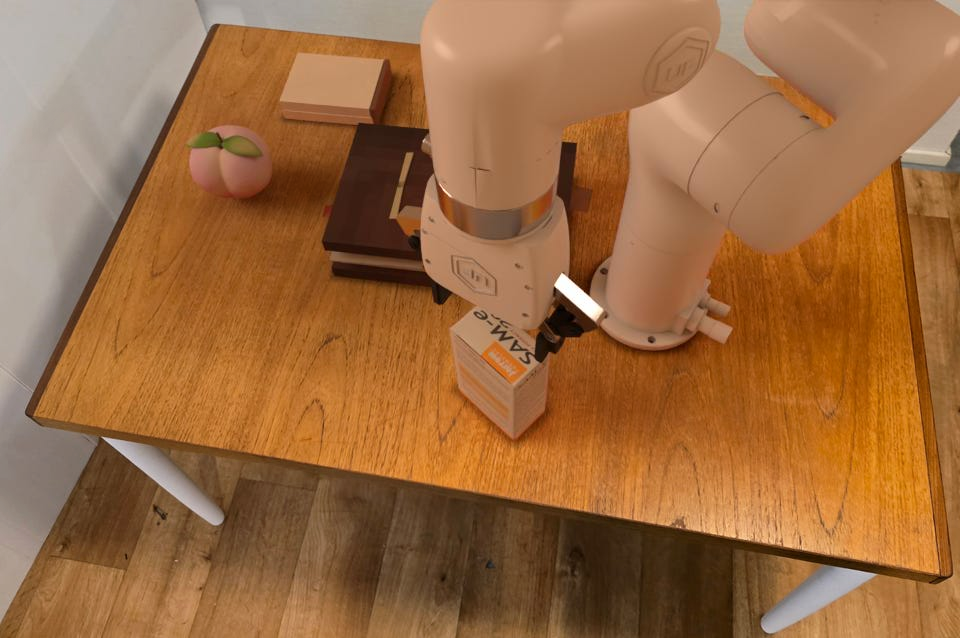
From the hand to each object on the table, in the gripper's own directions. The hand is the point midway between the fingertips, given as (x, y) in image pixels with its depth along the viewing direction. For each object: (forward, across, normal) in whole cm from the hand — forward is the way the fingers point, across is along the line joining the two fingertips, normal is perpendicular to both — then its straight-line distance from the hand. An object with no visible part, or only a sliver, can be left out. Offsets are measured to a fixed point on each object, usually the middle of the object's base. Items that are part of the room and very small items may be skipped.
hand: (496, 319), depth 61 cm
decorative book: (+17, -16, +16) cm, 28 cm away
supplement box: (+17, 0, 0) cm, 17 cm away
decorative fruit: (+18, -41, +7) cm, 45 cm away
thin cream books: (+17, -41, +25) cm, 51 cm away
